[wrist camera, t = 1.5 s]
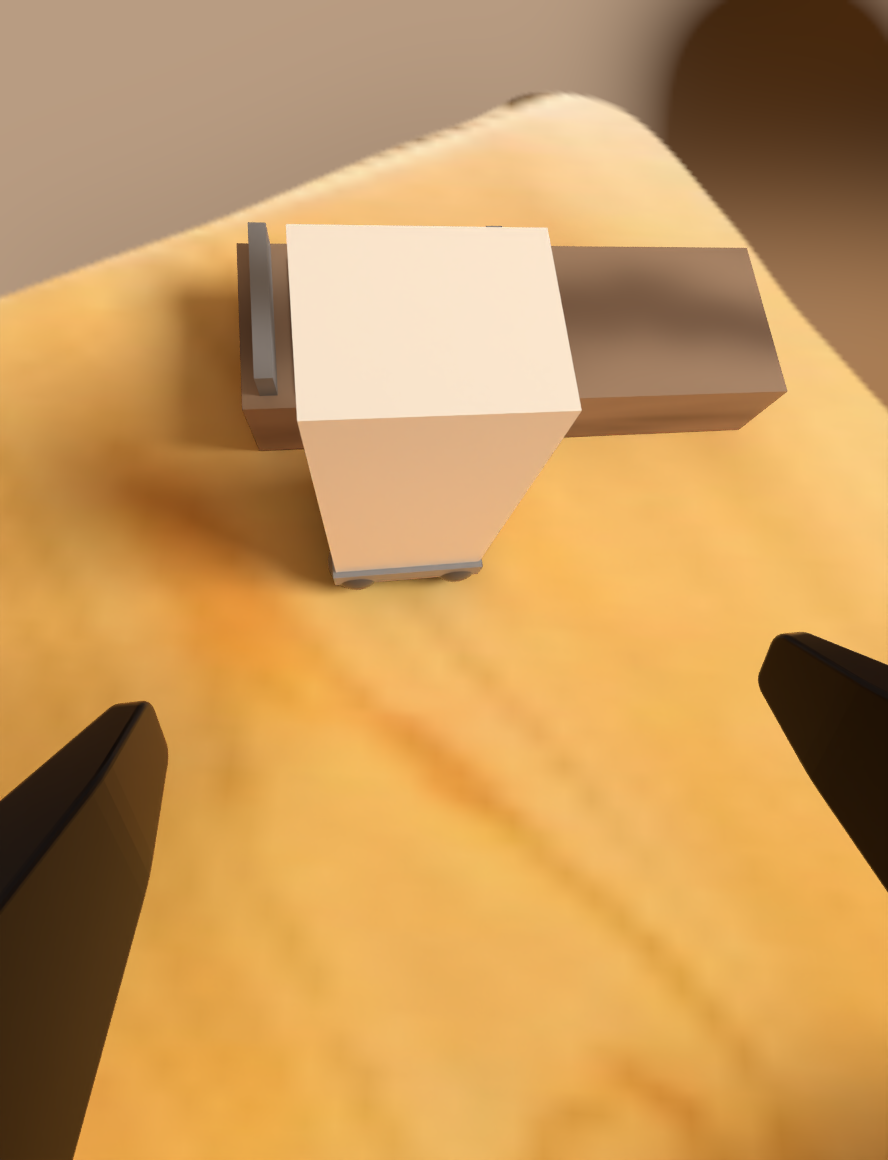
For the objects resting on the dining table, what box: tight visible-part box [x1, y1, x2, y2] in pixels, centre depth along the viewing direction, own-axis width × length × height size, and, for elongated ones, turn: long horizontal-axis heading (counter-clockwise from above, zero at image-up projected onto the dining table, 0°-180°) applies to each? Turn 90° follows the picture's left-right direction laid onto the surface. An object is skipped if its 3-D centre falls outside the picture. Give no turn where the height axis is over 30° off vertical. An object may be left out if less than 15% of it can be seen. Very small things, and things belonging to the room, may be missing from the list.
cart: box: [286, 224, 582, 590], centre depth 16 cm, size 5×6×12 cm
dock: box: [237, 222, 787, 451], centre depth 22 cm, size 7×21×4 cm, turn 97°
